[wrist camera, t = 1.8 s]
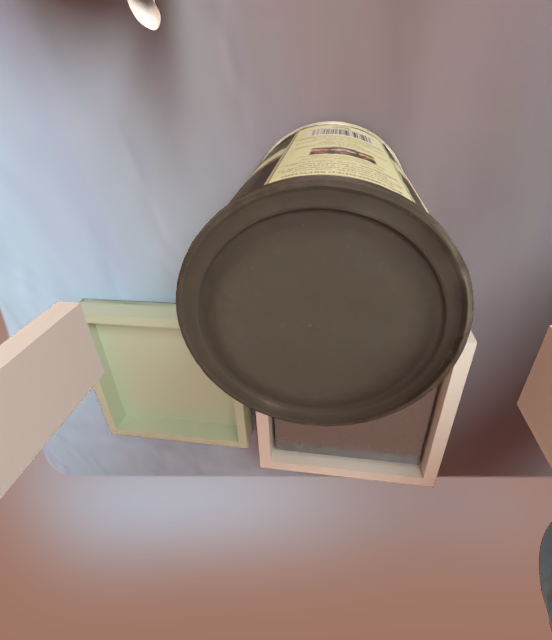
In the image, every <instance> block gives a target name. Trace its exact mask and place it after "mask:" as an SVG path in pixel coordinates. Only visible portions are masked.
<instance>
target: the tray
mask: <svg viewBox="0 0 552 640" xmlns="http://www.w3.org/2000/svg"><path fill="white" fill-rule="evenodd" d="M79 303H80V305H81V308H82V310H83V313H84V316H85V319H86V321H87V324H88V327H89V330H90V333H91V335H92V338H93V341H94V344H95V347H96V349H97V352H98V355H99V358H100V361H101V363H102V366H103V369H104V372H105V373H104V374H103V375H102V377H101V378H100V379H99V380H98V382H97V383H96V384H95V385H94V386H93V387H94V390H95V392H96V395H97V398H98V400H99V403H100V405H101V408H102V411H103V413H104V416H105V418H106V421H107V424H108V426H109V429H110V431H111V434H120V435H129V436H138V437H147V438H156V439H165V440H175V441H184V442H193V443H202V444H211V445H221V446H230V447H239V448H248V446H249V442H250V438H251V435H252V431H253V421H252V410H251V408H249V407H247V406H245V405H244V404H242V403H240V402H238V401H237V400H235V399H233V398H232V397H231V396H229V395H228V394H226V393H225V392H224V391H222V390H221V389H220V388H219V387H218V386H217V385H216V384H215V383H213V382H212V381H211V380H210V379H209V378H208V377H207V375H206V374H205V373H204V372H203V371H202V369H201V367H200V366H199V365H198V364H197V363H196V361H195V360H194V358H193V356H192V355H191V353H190V351H189V349H188V347H187V346H186V343H185V341H184V339H183V336H182V333H181V330H180V327H179V323H178V318H177V312H176V303H162V302H142V301H121V300H101V299H82V300H81V301H80V302H79Z"/></svg>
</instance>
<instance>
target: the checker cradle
mask: <svg viewBox="0 0 552 640" xmlns="http://www.w3.org/2000/svg"><path fill="white" fill-rule="evenodd" d="M476 345H477V341H476V339H475V338H474V336H473V334H472V332H471V330H470V334H469V337H468V340H467V343H466V345H465V348H464V350H463V352H462V354H461V356H460V357H459V359H458V361H457V362H456V364H455V365H454V367H453V368H452V370H451V371H450V372H449V374H448V375H447V376H446V377H445V378H444V380H443V381H442V382H441V383H440V384H438V388H437V392H436V396H435V400H434V404H433V408H432V412H431V416H430V419H429V423H428V427H427V431H426V435H425V439H424V443H423V447H422V451H421V455H420V459H419V463H418V465H416V464H406V463H397V462H388V461H379V460H369V459H360V458H351V457H342V456H332V455H323V454H314V453H305V452H295V451H286V450H277V449H276V440H275V421H274V418H273V417H270V416H267V415H265V414H262V413H259V412H257V411H256V421H257V433H258V444H259V456H260V467H263V468H271V469H280V470H289V471H297V472H306V473H314V474H323V475H332V476H340V477H349V478H358V479H367V480H375V481H383V482H392V483H401V484H409V485H418V486H428V487H434V484H435V481H436V477H437V474H438V471H439V468H440V464H441V461H442V458H443V454H444V451H445V448H446V444H447V441H448V438H449V435H450V431H451V428H452V425H453V421H454V418H455V415H456V411H457V408H458V405H459V402H460V398H461V395H462V392H463V388H464V385H465V382H466V378H467V375H468V372H469V369H470V365H471V362H472V359H473V355H474V352H475V349H476Z"/></svg>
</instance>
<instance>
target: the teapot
mask: <svg viewBox="0 0 552 640" xmlns="http://www.w3.org/2000/svg"><path fill="white" fill-rule="evenodd" d="M127 1H128V4H129V6H130V9H131V11H132V13H133V14H134V16H135V17H136V19H137V20H138V21H139V22H140V23H141V24H142V25H144V26H145V27H147V28H149V29H151V30H156V29H157V28H158V27H159V25H160V21H161V15H160V12H159V10H158V8H157V6H156V4H155V0H127Z"/></svg>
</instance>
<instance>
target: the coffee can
mask: <svg viewBox="0 0 552 640" xmlns="http://www.w3.org/2000/svg"><path fill="white" fill-rule="evenodd" d="M473 310H474V302H473V290H472V284H471V279H470V275H469V272H468V269H467V266H466V264H465V262H464V260H463V258H462V256H461V254H460V252H459V251H458V249H457V247H456V246H455V244H454V242H453V241H452V239H451V238H450V237H449V235H448V234H447V232H446V231H445V230H444V228H443V227H442V226H441V225H440V224H439V223H438V222H437V221H436V220H435V219H434V218H433V217H432V216H431V215H430V214H429V212H428V211H427V209H426V207H425V206H424V204H423V202H422V201H421V199H420V198H419V196H418V194H417V193H416V191H415V189H414V188H413V186H412V184H411V182H410V181H409V179H408V178H407V177H406V175H405V173H404V172H403V170H402V167H401V165H400V163H399V161H398V159H397V157H396V155H395V154H394V152H393V151H392V150H391V149H390V147H389V146H388V145H387V144H386V143H385V142H384V141H383V140H382V139H380V138H379V137H378V136H377V135H375V134H374V133H372V132H370V131H369V130H368V129H365V128H362V127H360V126H357V125H354V124H350V123H345V122H336V121H327V122H318V123H313V124H309V125H306V126H303V127H300V128H298V129H296V130H294V131H292V132H291V133H289V134H287V135H286V136H285V137H283V138H282V139H281V140H279V141H278V142H277V143H276V144H275V145H274V146H273V147H272V148H271V149H270V150H269V152H268V153H267V154H266V156H265V157H264V158H263V160H262V162H261V163H260V165H259V166H258V168H257V169H256V170H255V172H254V173H253V174H252V175H251V177H250V178H249V179H248V180H247V182H246V183H245V184H244V185H243V187H242V188H241V189H240V190H239V191H238V193H237V194H236V195H235V196H234V198H233V199H232V200H231V202H230V203H229V204H228V205H227V206H225V207H224V208H223V209H222V210H220V211H219V212H218V213H217V214H216V215H215V216H214V217H213V218H212V219H211V220H210V221H209V222H208V223H207V224H206V225H205V226H204V227H203V229H202V230H201V231H200V232H199V234H198V235H197V236H196V238H195V239H194V241H193V242H192V244H191V246H190V248H189V250H188V252H187V254H186V256H185V258H184V260H183V263H182V267H181V270H180V273H179V277H178V282H177V291H176V312H177V318H178V323H179V327H180V330H181V333H182V336H183V339H184V341H185V343H186V346H187V347H188V349H189V351H190V353H191V355H192V356H193V358H194V360H195V361H196V363H197V364H198V365H199V366H200V367H201V369H202V371H203V372H204V373H205V374H206V375H207V377H208V378H209V379H210V380H211V381H212V382H213V383H215V384H216V385H217V386H218V387H219V388H220V389H221V390H222V391H224V392H225V393H226V394H228V395H229V396H231V397H232V398H233V399H235V400H237V401H238V402H240V403H242V404H244V405H245V406H247V407H249V408H251V409H253V410H255V411H257V412H259V413H262V414H265V415H267V416H270V417H273V418H276V419H280V420H283V421H287V422H291V423H296V424H302V425H310V426H327V427H328V426H346V425H354V424H360V423H366V422H369V421H373V420H377V419H380V418H383V417H386V416H389V415H391V414H394V413H396V412H398V411H401V410H403V409H405V408H407V407H408V406H410V405H412V404H414V403H415V402H417V401H419V400H420V399H422V398H423V397H424V396H425V395H427V394H428V393H429V392H431V391H432V390H433V389H434V388H435V387H436V386H437V385H438V384H440V383H441V382H442V381H443V380H444V378H445V377H446V376H447V375H448V374H449V372H450V371H451V370H452V368H453V367H454V365H455V364H456V362H457V361H458V359H459V357H460V356H461V354H462V352H463V350H464V348H465V345H466V343H467V340H468V337H469V334H470V330H471V325H472V321H473Z"/></svg>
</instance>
